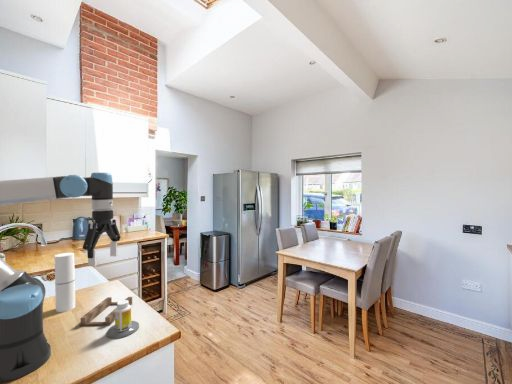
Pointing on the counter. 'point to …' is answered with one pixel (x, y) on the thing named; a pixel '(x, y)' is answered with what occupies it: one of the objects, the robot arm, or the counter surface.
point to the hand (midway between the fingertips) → (103, 260)
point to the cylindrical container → (64, 282)
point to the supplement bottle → (122, 316)
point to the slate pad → (115, 334)
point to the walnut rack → (98, 309)
